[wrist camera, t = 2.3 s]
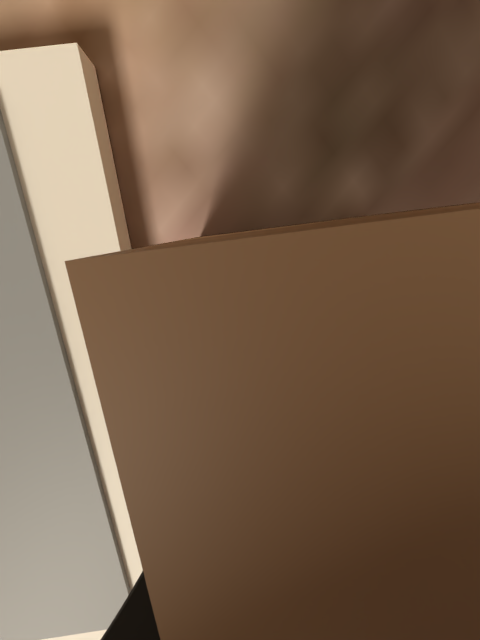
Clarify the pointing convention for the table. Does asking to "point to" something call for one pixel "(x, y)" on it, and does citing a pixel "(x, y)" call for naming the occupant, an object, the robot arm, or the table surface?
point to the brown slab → (298, 424)
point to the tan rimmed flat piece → (55, 356)
